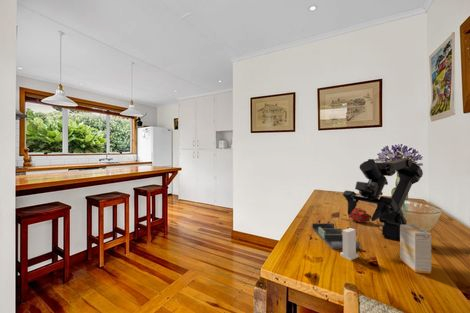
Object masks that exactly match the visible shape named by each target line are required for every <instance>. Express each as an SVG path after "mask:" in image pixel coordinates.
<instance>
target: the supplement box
mask: <svg viewBox="0 0 470 313" xmlns="http://www.w3.org/2000/svg"><path fill="white" fill-rule="evenodd" d="M399 246H400V247H399V249H400V250H399V251H400V252H399V256H400V257H399V260H400V261H401V262H402V263H404V264H405V265H406V266H407V267H408V268H410V270H412V271H414V273H416V274H428V275H432V233H430V232H429V231H427V230H425V229H422V228H421V227H418V226H416V225H414V224H406V225H400V241H399Z"/></svg>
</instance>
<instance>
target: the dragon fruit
mask: <svg viewBox="0 0 470 313" xmlns="http://www.w3.org/2000/svg"><path fill="white" fill-rule="evenodd" d="M367 212H368V211H366V210H364V209H361V208H360V207H355V209H354V210H353V211H352V213H351V214H350V215H348V214H347V216H348V218H350V219H353V221H354V222H358V223H360V224H365V222H370V220H371V219H372V216H371V214H369V213H367Z"/></svg>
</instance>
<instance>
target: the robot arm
mask: <svg viewBox="0 0 470 313" xmlns="http://www.w3.org/2000/svg"><path fill="white" fill-rule="evenodd" d="M359 170H360V171H361V173H362V174H363V176H364V177H365V178H366V179H367V180H368V181H367V182H365V181H356V184H355V187H354V189H355V190H357V191H358V193H359V195H357V193H356V192H355V191H353V190H352V191H351V190H344V192H342V196H343V197H344V198H345V200H346V201H347V216H348V215H350V214H351V213H352V211H353V210H354V209H355V208H357V205H358V203H359V201H361V202H365V203H369V204H376V208H375V209H374V212H373V214H372V216H371V218H372V219H370V220H371V222H375V221H376V220H379V223H383V224H382V225H381V226H382V230H381V231H382V236H383V238H384V239H387V240H393V241H397V242H400V225H408V224H407V222H408V221H407V219H406V218H405V215H404V212H403V209H402V207H403V205H404V203H405V201H406V198H407V196H408V194H409V192H410V190H411V188H412V185H414V184H416V183H418V182H419V181H420V180H421V178H422V177H423V175H424V173H423V172H424V171H423V169H422V168H421V166H420V165H419V164H417V163H415V162H413V160H412V159H410V158H397V159H394V160H391V161H387V162H377V161H375V159H374V158H370V159H367V161H364V162H362V163H360V165H359ZM396 172H397V174H398V175H397V176H398V177H399V180H398V183H397V185H396V187H395V189H394V191H393V193H392V195H391V196H390V197H389V196H383V195H384V194H383V190H384V187H385V185H386V186H387V185H389V183H388V179H387V177H392V176H393V175H395V174H396Z"/></svg>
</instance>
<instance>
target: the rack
mask: <svg viewBox="0 0 470 313" xmlns="http://www.w3.org/2000/svg"><path fill="white" fill-rule="evenodd" d="M311 229H312V230H313V231H314V232H315V234H316V235H318V236H319V238H321V240H322V241H324V242H325V243H326V245H328V247H329V248H330V249H332V250H343V232H342V228H341V227H340V228H336V227H335V223H334V222H331V223H329V222H326V223H325V222H324V223H323V222H322V223H318V222H317V223H313V222H312V223H311ZM360 249H361V248H360V241H356V250H360Z"/></svg>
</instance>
